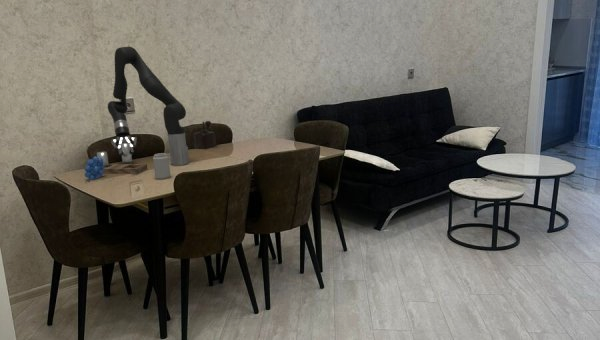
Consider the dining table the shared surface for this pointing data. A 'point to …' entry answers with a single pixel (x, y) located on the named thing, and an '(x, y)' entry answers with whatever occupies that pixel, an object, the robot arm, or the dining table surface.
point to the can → (161, 166)
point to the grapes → (94, 168)
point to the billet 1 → (104, 157)
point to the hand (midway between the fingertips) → (126, 154)
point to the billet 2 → (126, 152)
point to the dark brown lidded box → (204, 138)
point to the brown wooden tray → (125, 169)
